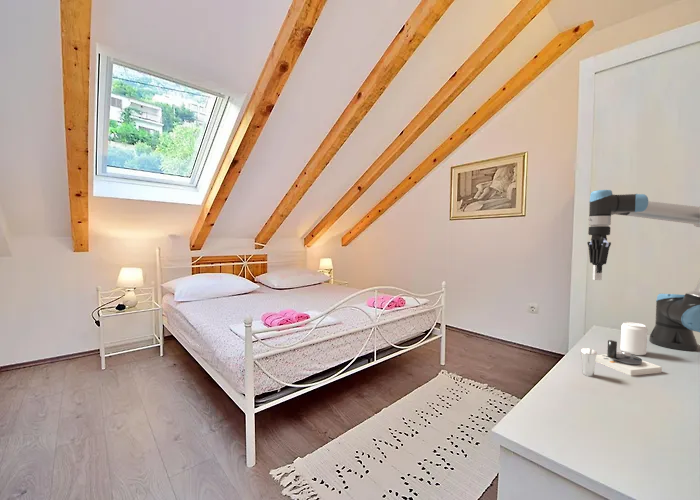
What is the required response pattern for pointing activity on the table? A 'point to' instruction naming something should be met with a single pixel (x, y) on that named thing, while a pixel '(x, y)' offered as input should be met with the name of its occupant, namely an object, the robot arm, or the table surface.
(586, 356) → the milkshake
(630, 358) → the dial
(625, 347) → the beverage can
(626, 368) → the dial board
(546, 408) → the table surface
